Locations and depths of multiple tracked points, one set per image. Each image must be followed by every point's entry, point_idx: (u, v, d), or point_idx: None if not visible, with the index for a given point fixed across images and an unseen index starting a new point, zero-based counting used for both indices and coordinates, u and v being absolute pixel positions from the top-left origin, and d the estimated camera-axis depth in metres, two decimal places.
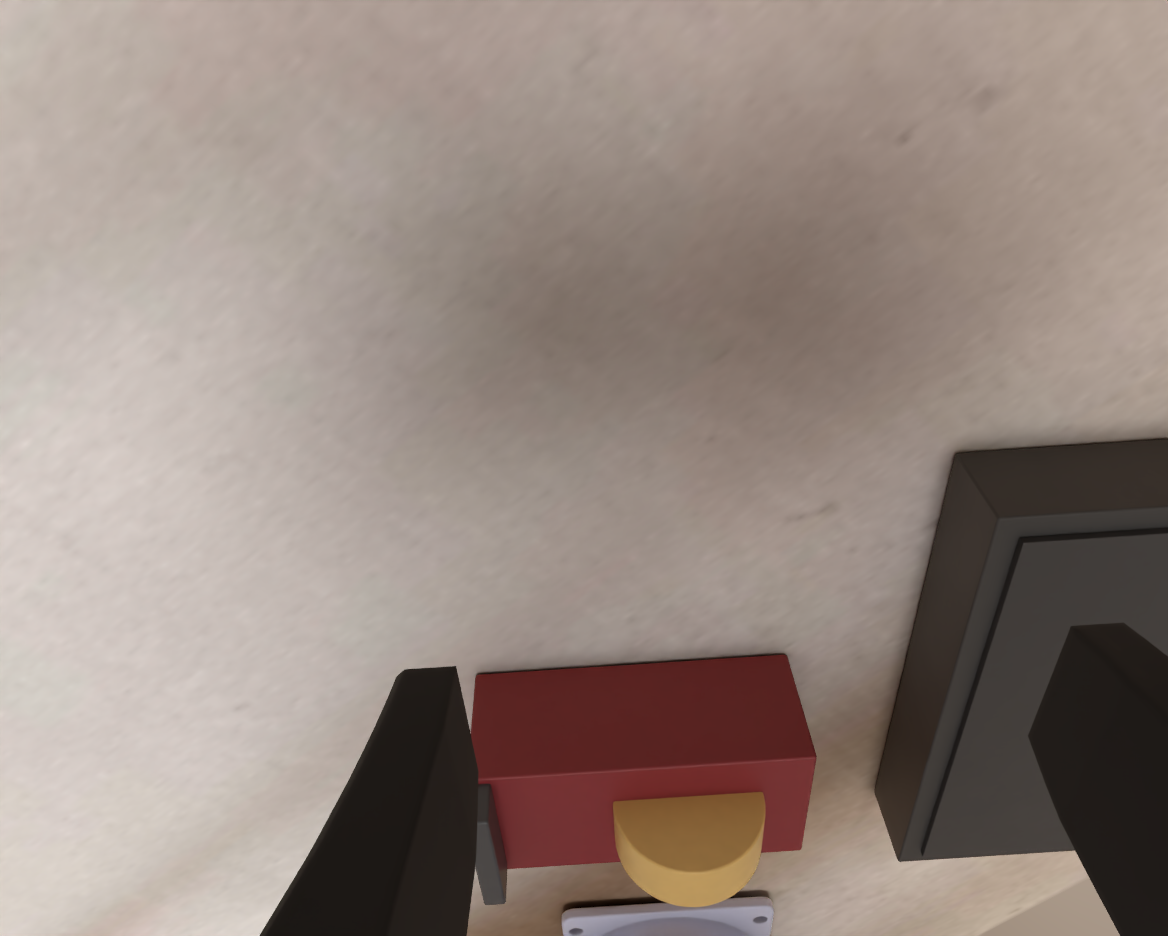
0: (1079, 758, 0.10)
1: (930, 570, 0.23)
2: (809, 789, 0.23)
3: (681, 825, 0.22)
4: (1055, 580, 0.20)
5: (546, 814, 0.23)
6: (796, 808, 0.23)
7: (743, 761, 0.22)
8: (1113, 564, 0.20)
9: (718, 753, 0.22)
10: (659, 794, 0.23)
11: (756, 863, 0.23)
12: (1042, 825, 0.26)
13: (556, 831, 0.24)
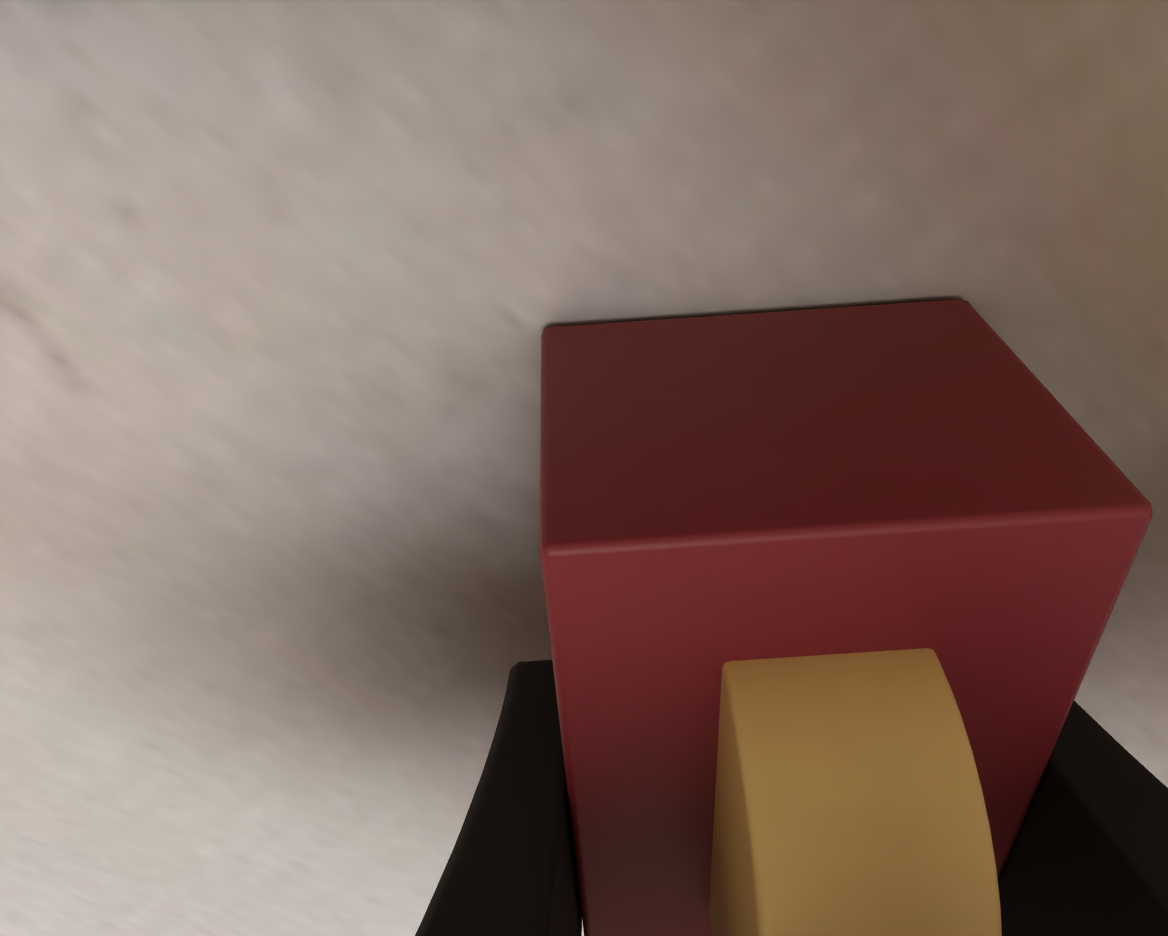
0: None
1: None
2: (735, 543, 0.06)
3: (728, 907, 0.08)
4: None
5: None
6: (848, 564, 0.06)
7: (561, 715, 0.07)
8: None
9: None
10: (692, 851, 0.09)
11: (941, 811, 0.06)
12: None
13: None
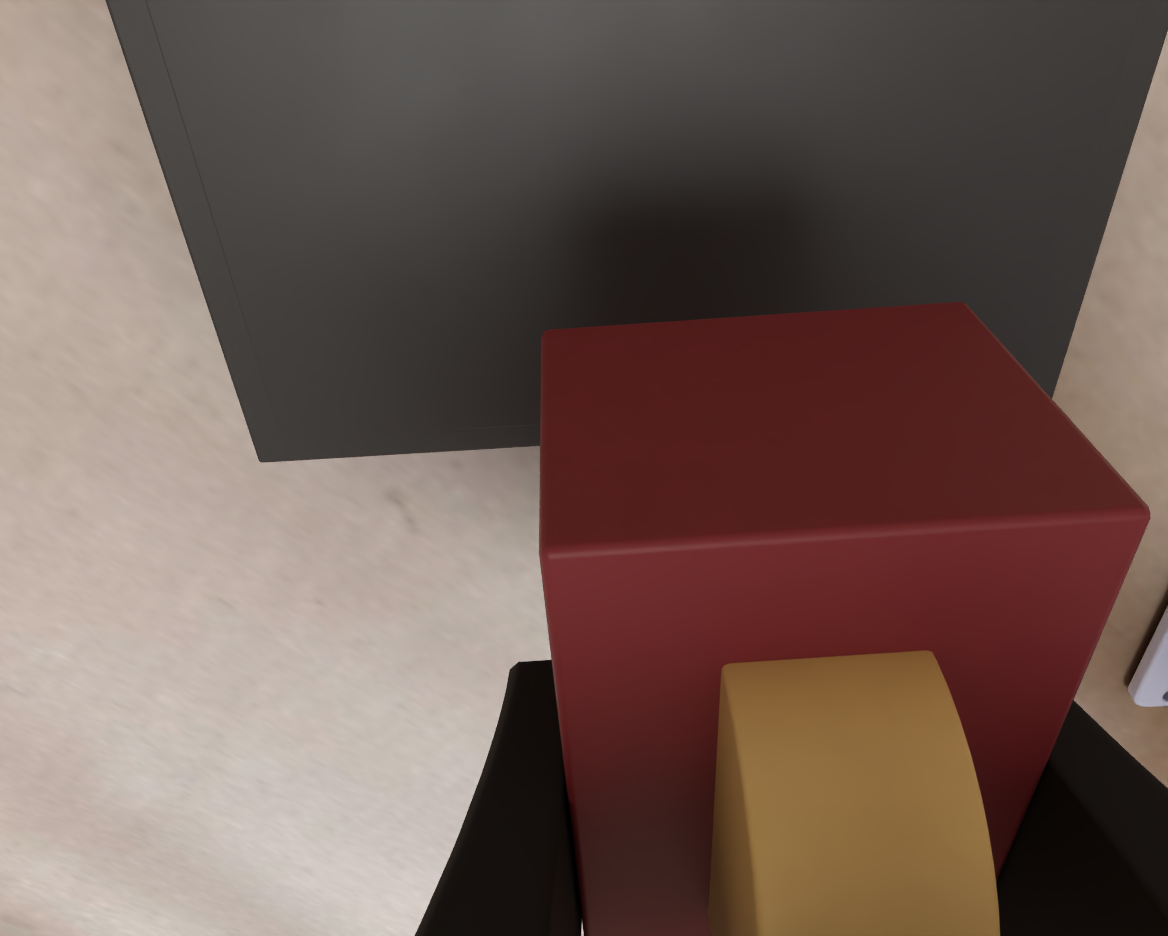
0: None
1: None
2: (734, 546, 0.06)
3: (727, 909, 0.08)
4: (339, 384, 0.14)
5: None
6: (846, 567, 0.06)
7: (560, 717, 0.07)
8: (297, 319, 0.14)
9: None
10: (691, 852, 0.09)
11: (939, 813, 0.06)
12: (991, 209, 0.13)
13: None
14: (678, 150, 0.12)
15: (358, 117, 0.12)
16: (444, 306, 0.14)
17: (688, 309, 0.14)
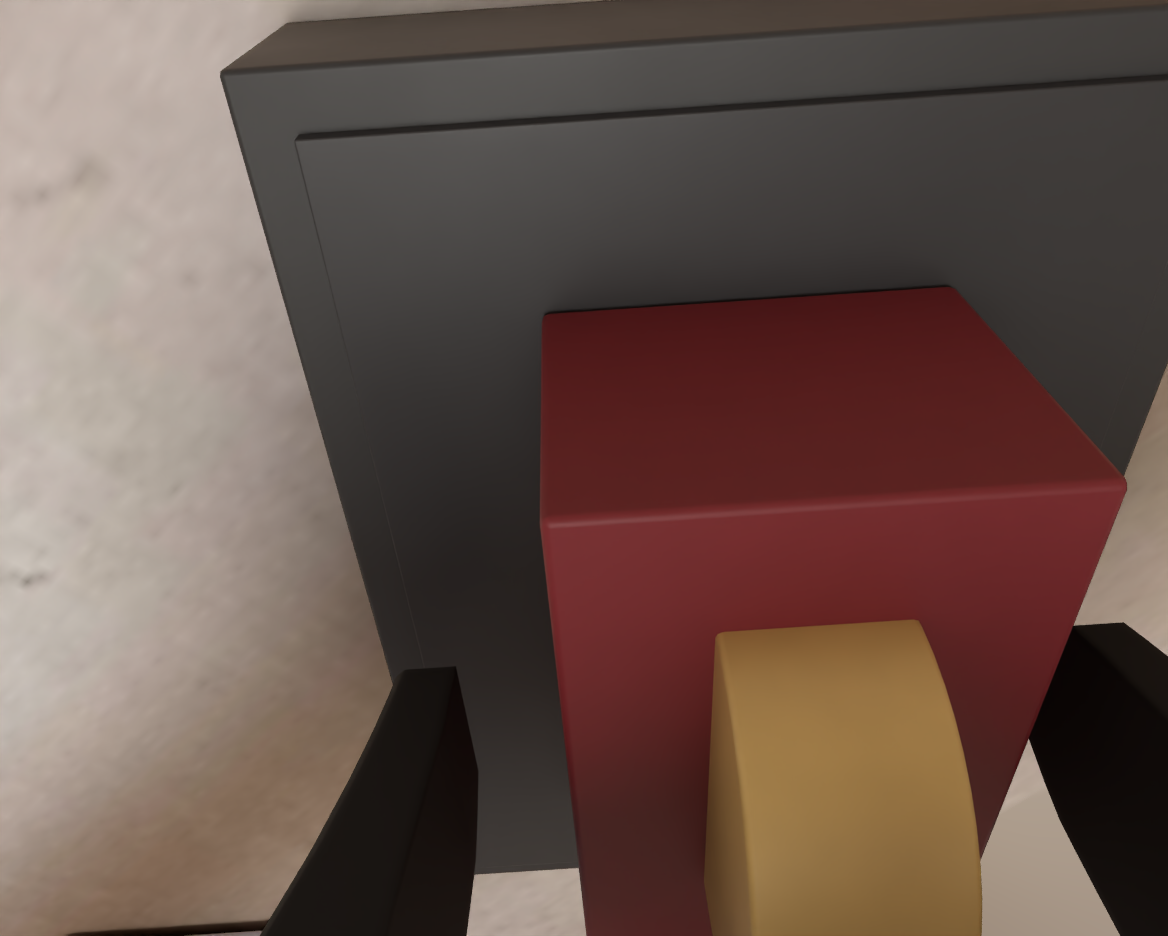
0: (1079, 758, 0.10)
1: None
2: (727, 516, 0.06)
3: (721, 872, 0.08)
4: (424, 256, 0.09)
5: None
6: (835, 537, 0.07)
7: (559, 685, 0.08)
8: (539, 211, 0.09)
9: None
10: (687, 820, 0.09)
11: (924, 772, 0.06)
12: None
13: None
14: None
15: None
16: None
17: None
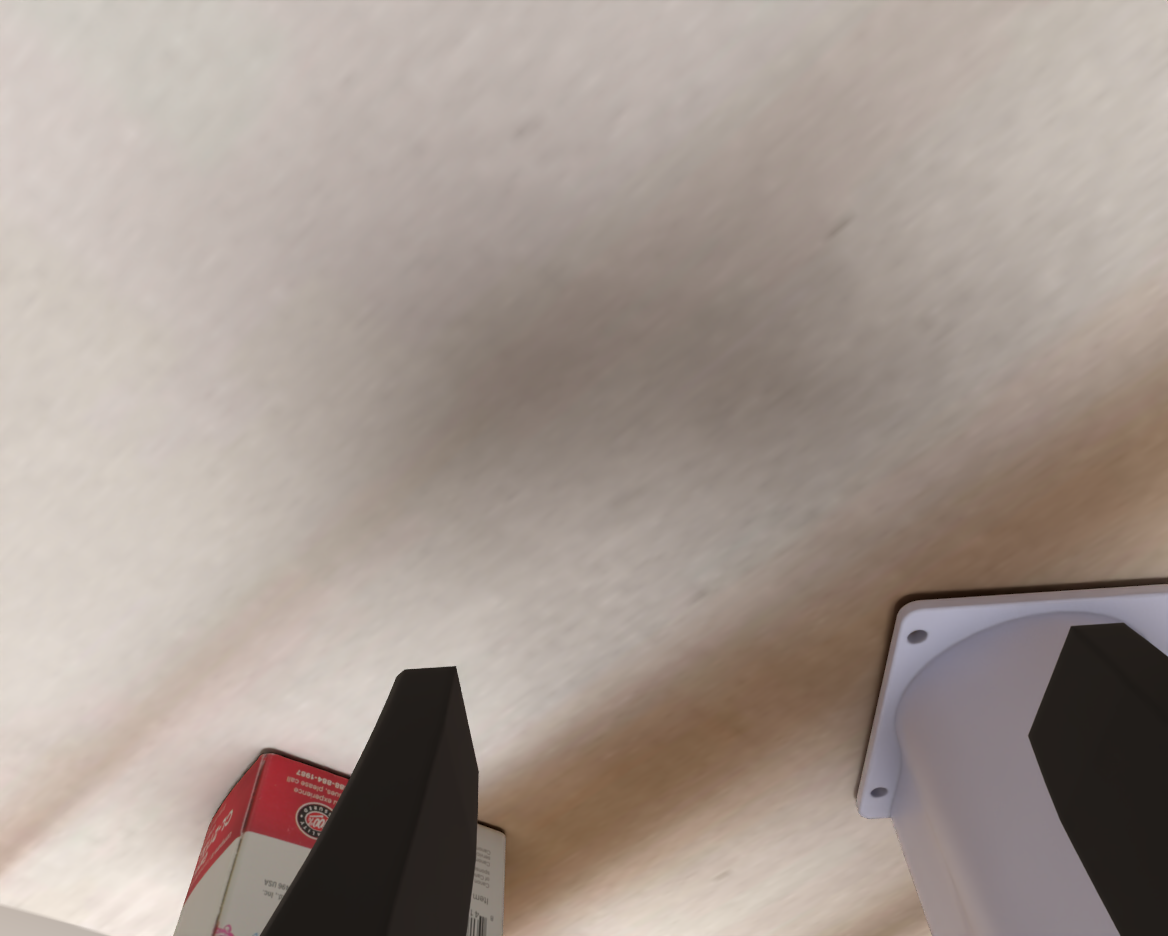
0: (1079, 758, 0.10)
1: None
2: None
3: None
4: None
5: None
6: None
7: None
8: None
9: None
10: None
11: None
12: None
13: None
14: None
15: None
16: None
17: None
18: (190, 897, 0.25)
